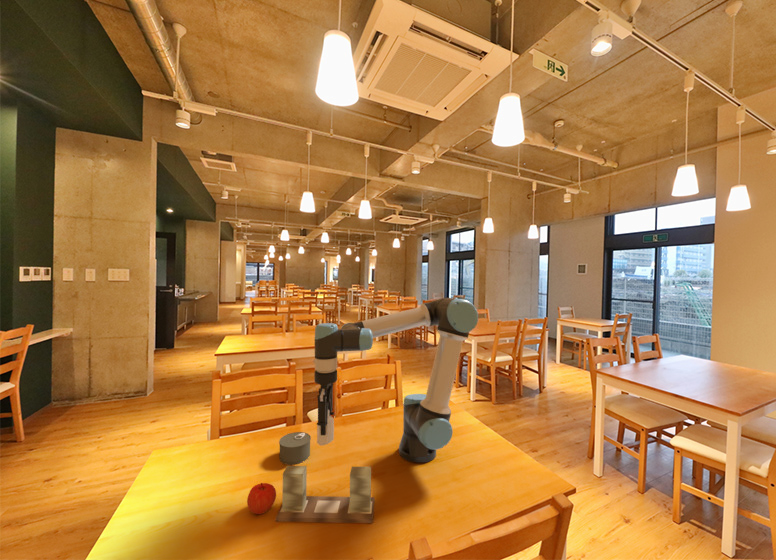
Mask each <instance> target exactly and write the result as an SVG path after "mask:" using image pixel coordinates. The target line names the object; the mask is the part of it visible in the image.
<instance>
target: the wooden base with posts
mask: <svg viewBox="0 0 776 560" xmlns="http://www.w3.org/2000/svg"><path fill="white" fill-rule="evenodd" d="M307 468H308V467H307V465H286V467H285V469H284V470H283V473H282V500H281V501H282V504H281V506H280V507H279V509H278V511H277V514H276V516H275V522H282V523H283V522H285V523H286V522H288V523H289V522H290V523H291V522H294V523H298V522H299V523H339V524H340V523H345V524H355V523H356V524H374V513H375V512H374V509H375V496H373V497H372V466H351V469H350V472H349V473H350V474H349V496H326V495H325V496H324V495H323V496H319V495H314V496H313V495H307Z"/></svg>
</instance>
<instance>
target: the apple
mask: <svg viewBox="0 0 776 560" xmlns="http://www.w3.org/2000/svg"><path fill="white" fill-rule="evenodd" d="M246 498H247V500H246V501H247V502H246V503H247V508H248V509H249V511H250V512H251V513H253V514H256V515H262V514H264V513H266V512H268V511H270V510H271V508H272V507H273V505H274V504H275V501H276V498H277V490H276V488H275V486H274V485H273V484H271V483H269V482H268V483H267V482H260V483H257V484H255V485H254V486H252V487H251V488H250V491H249V493H248V495H247V497H246Z"/></svg>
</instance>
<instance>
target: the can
mask: <svg viewBox="0 0 776 560" xmlns="http://www.w3.org/2000/svg"><path fill="white" fill-rule="evenodd" d="M311 439H312V436H311V435H310V434H309V433H307V432H303V431H295V432H290V433H287V434H285V435H283V436H281V437H280V439H279V441H278V442H279V462H280V463H282V465H286V466H296V465H298V464H301V463H304V462H305V460H306V459H307V460H309V458H310V457H311ZM309 456H310V457H309ZM308 457H309V458H308ZM307 460H306V461H307ZM303 461H304V462H303Z"/></svg>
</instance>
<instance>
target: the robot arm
mask: <svg viewBox="0 0 776 560" xmlns="http://www.w3.org/2000/svg"><path fill="white" fill-rule="evenodd" d="M478 323H479V312H478V310H477V308H476V306H475V305H474V304H473V303H472V302H471V301H468V299H464V298H454V297H442V298H438V299H435V300H432V301H429V302H425V303H421V304H420V305H419V307H415V308H414V307H413V308H411V309H406V310H402V311H398V312H394V313H390V314H387V315H381V316H377V317H373V318H369V319H365V320H362V321H361V320H360V321H357V322H346V323H344V324H343V325H341V327H340V328H338V325H337V323H332V322H325V323H319V324H317V325H316V326H315V328H314V359H313V361H312V363H314V370H315V371H314V378H313V379H314V383H315V384H317V385H320V387H319V388H318V394H317V396H316V397H317V423H316V426H317V425H318V426H319V444H326V445H329V443H328V422H327V418H328V410H329V416H331V417H333V416H334V414H335V411H333V410H334V408H333V407H334V406H333V405H334V404H333V401H334V397H333V396H334V394H333V393H334V383H336V382H337V381H338V370H337V369H338V352H339V353H340V352H357V351H358V352H359V351H361V352H363V351H370V350H371V349H372V348H373V343H374V342H373V341H374V339H375V338H379V337H382V336H386V335H390V334H394V333H398V332H402V331H406V330H410V329H414V328H415V329H416V328H419V327H422V326H424V327H428V328H429V327H432V326H437V333H438V334H439V340H438V341H437V347H436V352H435V356H434V360H433V364H432V369H431V373H430V377H429V381H428V386H427V390H426V394H424V393H413V394H412V393H411V394H408V395H406V396H405V397H404V398H403V404H402V405H403V423H402V424H403V427H402V428H403V429H402V430H403V431H402V435H401V439H400V442H399V444H398V453H399V456H400V455H401V456H400V457H401V458H402V459H404V460H406V461H407V462H411V463H416V464H423V463H424V464H425V463H428V462H431V461H433V460H434V459H435V458H436V456H437V450H440V449H442V448H443V447H446V446H447V445H448V444H449V443H450V441H451V440H452V436H453V433H454V432H453V426H452V424H451V422H450V420H451V414H452V409H451V408H450V406H449V404H450V401H451V400H450V398H451V396H452V395H451V394H452V390H453V386H454V382H455V378H456V373H457V369H458V364H459V360H460V355H461V351H462V347H463V342H464V341H466V340H467V339H468V338H469V335H470V332H471V331H473V330H474V329H475V328H476V326H477V325H478ZM319 444H318V445H319Z"/></svg>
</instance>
